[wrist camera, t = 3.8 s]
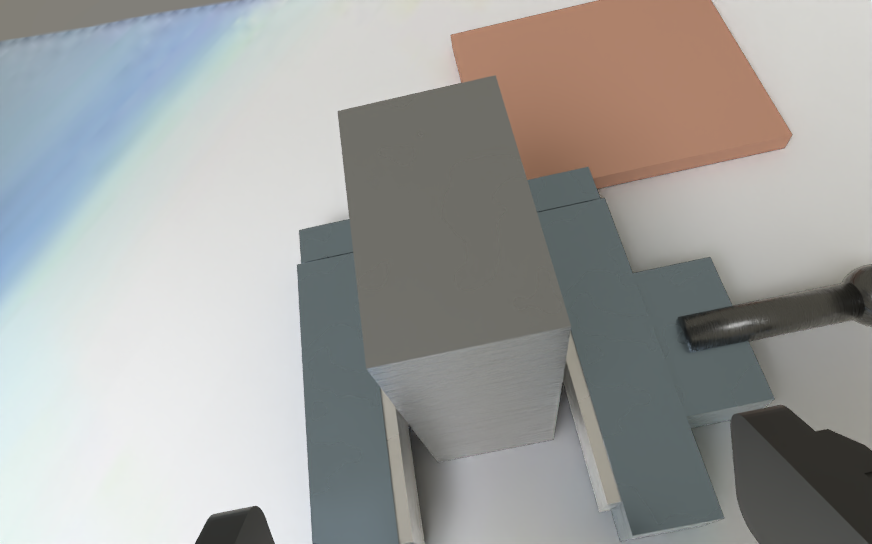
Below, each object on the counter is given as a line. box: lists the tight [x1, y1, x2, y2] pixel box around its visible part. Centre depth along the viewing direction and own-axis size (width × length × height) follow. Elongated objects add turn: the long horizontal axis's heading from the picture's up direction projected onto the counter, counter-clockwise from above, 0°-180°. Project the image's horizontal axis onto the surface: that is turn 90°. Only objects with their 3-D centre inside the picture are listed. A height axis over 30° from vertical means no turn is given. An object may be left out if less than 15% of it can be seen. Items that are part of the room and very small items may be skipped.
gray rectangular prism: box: [338, 75, 571, 463], centre depth 17 cm, size 4×7×10 cm, turn 9°
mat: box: [451, 0, 792, 189], centre depth 26 cm, size 12×10×1 cm
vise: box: [297, 167, 872, 544], centre depth 20 cm, size 20×13×3 cm, turn 99°
